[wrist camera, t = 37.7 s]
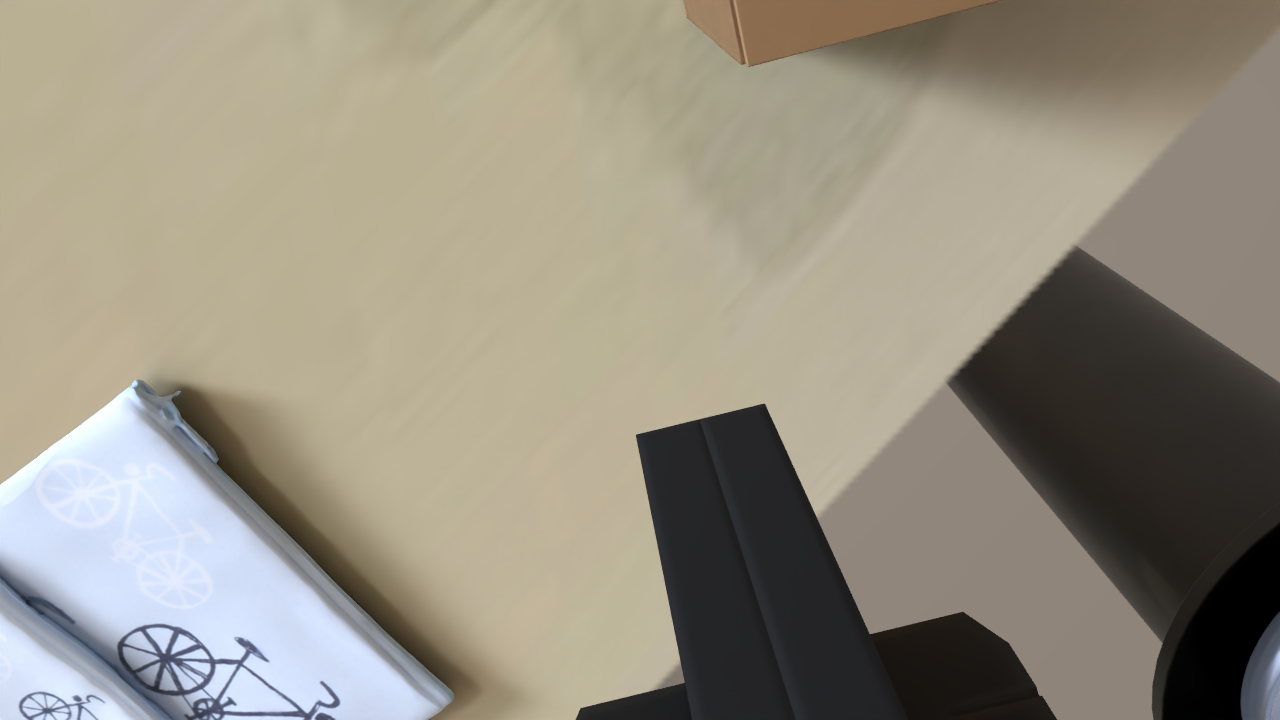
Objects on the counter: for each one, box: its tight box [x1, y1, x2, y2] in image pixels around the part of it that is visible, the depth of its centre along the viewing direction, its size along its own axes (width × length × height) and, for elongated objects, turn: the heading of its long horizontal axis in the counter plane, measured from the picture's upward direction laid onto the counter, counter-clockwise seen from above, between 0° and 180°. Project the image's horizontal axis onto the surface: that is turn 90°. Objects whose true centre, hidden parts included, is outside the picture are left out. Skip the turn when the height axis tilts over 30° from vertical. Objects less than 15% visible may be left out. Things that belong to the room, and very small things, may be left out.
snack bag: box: [0, 380, 454, 720], centre depth 43 cm, size 19×20×2 cm
